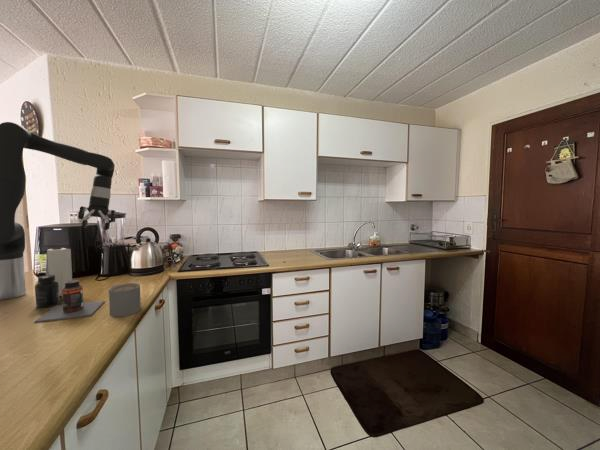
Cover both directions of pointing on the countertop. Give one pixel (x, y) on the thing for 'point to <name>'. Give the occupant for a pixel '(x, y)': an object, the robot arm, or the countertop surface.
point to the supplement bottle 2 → (72, 296)
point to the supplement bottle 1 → (47, 291)
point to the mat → (59, 314)
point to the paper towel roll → (60, 266)
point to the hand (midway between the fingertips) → (95, 229)
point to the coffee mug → (124, 299)
